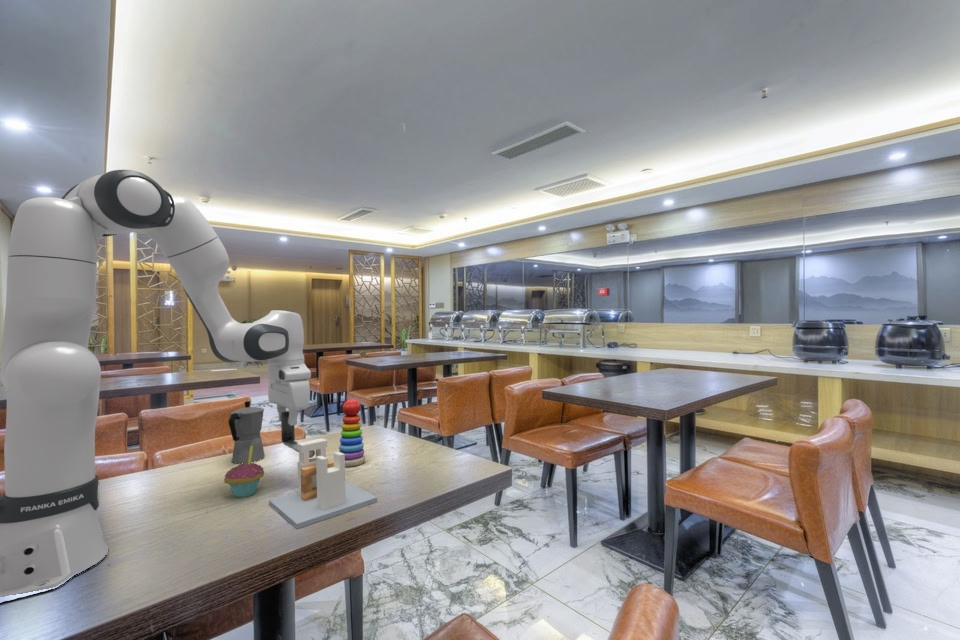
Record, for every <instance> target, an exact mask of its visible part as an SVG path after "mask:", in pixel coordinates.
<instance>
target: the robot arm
mask: <svg viewBox="0 0 960 640" xmlns="http://www.w3.org/2000/svg"><path fill="white" fill-rule="evenodd" d="M10 231H11V232H10V236H9V244H8V251H7V253H8V254H7V272H6V273H7V274H6V292H5V293H6V294H5V295H6V296H5V297H6V298H5V310H4V321H3V329H2V330H3V331H2V341H1V352H0V383H1V384H2V386H3V387H4V389H5V390H6V414H5V415H6V416H5V417H6V418H5V422H6V423H5V438H4V444H3V446H4V447H3V451H4V452H3V453H4V455H3V457H4V493H1V492H0V597H5V596H9V595H16V594H23V593H28V592H33V591H39V590H43V589H49V588H53V587H56V586H58V585H59V584H61V583H62V582H64V581H65V580H67V579H68V578H69V577H70V576H72V575H73V574H75V573H77V572H79V571H81V570H83V569H85V568H86V567H89V566H91V565H93V564H95V563H96V562H98V561H99V560H101V559H102V558H103V557H105V555H106V554H107V553H108V554H109V552H108V549H109V547H108V545H107V543H106V541H105V539H104V534H103V531H102V528H101V523H100V518H99V512H98V511H99V510H98V509H99V507H100V503H101V489H100V488H101V486H100V481H99V476H98V474H96V445H95V444H96V441H95V440H96V426H97V425H96V424H97V420H98V412H99V402H100V393H101V392H100V391H101V378H102V368H101V364H100V361H99V360H98V358H97V356H96V355H95V354H94V353H93V352H92V351H91V350H89V342H90V334H91V329H92V323H93V318H94V314H95V311H96V305H97V304H96V302H97V301H96V299H97V297H96V296H97V274H98V273H97V269H98V259H97V258H98V252H97V248H98V246H99V242H100V241H101V238H103V237H111V236H112V237H113V236H115V235H125V234H131V233H134V232H138V231H139V232H141V233H143V234H145V235H146V236H148V237H149V238H150V239H152V240H153V242H155V244H156V245H157V247H158V248H159V250H160V251H161V252H162V255H163V256H164V257H165V259H166V260H167V262H168V263H169V265H170V267H172V269H173V270H174V272H175V274H176V276H177V277H178V279H179V281H180V284H181V286H182V290H183V291H184V293H185V295H186V297H187V299H188V300H189V302H190V304H191V306H192V307H193V309H194V311H195V313H196V314H197V316H198V318H199V320H200V321H201V323H202V325H203V327H204V329H205V330H206V333H207V336H208V341H209V345H210V349H211V351H212V353H213V355H214V356H215V357H216V358H217V359H219V360H220V361H222V362H226V363H238V362H247V363H248V362H251V363H252V362H264V361H267V365H268V366H267V370H268V373H267V375H268V377H267V378H268V389H267V390H268V392H267V396H268V397H267V398H268V401H269V403H271V404H274V405H276V410H277V413H278V414H277V415H278V420H279V422H281V412H284V411H287V409H288V411H289V412H290V413H289V418H288V424H289V425H291V426H292V425H294V426H296V425H298V416H299V414H300V411H302V410H307V409H308V407H309V405H310V392H311V391H310V389H311V388H310V387H311V386H310V381H309V379H311V378H312V372H311V370H310V369H309V368H308V366H307V365H306V363H305V355H304V351H303V349H304V344H305V331H304V324H303V319H302V317H301V315H300V313H298V312H297V311H293V310H289V309H271V310H270V311H269V313H267V314H266V315H265V316H263V317H262V318H259V319H256V320H255V321H252V322H246V323H242V322H238V321H237V320H235V319H234V318H233V317H232V315H231V313H230V312H229V310H228V308H227V307H226V304H225V302H224V300H223V299H222V297H221V295H220V292H219V283H220V282H221V280H222V279H223V278H224V277H225V275H226V274H227V272H228V270H229V267H230V258H229V254H228V252H227V250H226V247H225V246H224V244H223V242H222V240H221V239H220V237H219V236H218V234H217V233H216V231H215V230H214V228H213V227H212V225H211V224H210V222H209V221H208V219H206V217H205V216H204V214H203V213H202V211H200V210H199V209H198V208H197V206H196V205H195V204H194V203H193V202H192V201H191V200H190V199H188V198H187V197H185V196H182V195H178V194H170V192H169V191H167V190H166V189H164V188H163V187H162V186H161V185H160V184H159V183H158V182H157V181H155V180H154V179H153V178H151V177H150V176H148V175H146V174H145V173H142V172H139V171H137V170H131V169H115V170H110V171H108V172H107V171H106V172H105V173H101V174H97V175H93V176H90V177H88V178H87V179H85V180H83V181H81V182H80V183H78V184H76V185H73V186H72V187H70V189H69V190H67V192H66V193H65V194H64V195H63V196H62V197H61V198H60V197H53V196H40V197H33V198H30V199H27V200H25V201H24V202H22V203H21V204H20V205H19V207H18V208H17V211H16V214H15V216H14V219H13V223H12V227H11V230H10ZM108 554H107V555H108ZM105 558H106V557H105Z"/></svg>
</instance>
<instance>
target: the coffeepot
mask: <svg viewBox="0 0 960 640" xmlns="http://www.w3.org/2000/svg"><path fill="white" fill-rule="evenodd" d="M243 403H244V407H242V408H238V409H237V410H233V411H231V412H230V413H229V414H230V417H229V419H228V425H229V430H230V433H231V437H232V440H233V441H234V445H233V450H232V458H231V463H233V462H236V463H248V459H249V451H250V446H251V445H252V443H253V445H252V446H253V451H252V458H251V462H253V463H255V462H254V461H256V462H258V461H257V460H259V461H261V460H260V459H262V460H263V459H264V458H265V449H264V445H263V441H262V437H261V432H262V425H263V419H264V418H263V417H264V411H265V409H264V408H262V407H257V406H256V407H255V406H253V407H252V406H250V405H251V401H248V400H246V401H244V402H243Z"/></svg>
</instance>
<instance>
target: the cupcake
mask: <svg viewBox="0 0 960 640" xmlns="http://www.w3.org/2000/svg"><path fill="white" fill-rule="evenodd" d="M252 445H253V443H252ZM252 445H251V446H250V451H249V459H248V463H247V464H246V463H243V464H237V466H235V467H232V468H230V470H228V471H227V472H226V473H225V475H224V479H223V483H224V484H227V485H228V486H229V487H230V489H231V492H232V493H233V496H234V497H236V498H243V497H248V496H252V495H253V494H255V493H256V491H257V488H258V487H259V486H258V485H259V482H260V480H261V479H262V478H263V477H265V476H264V475H265V472H264V467H262V465H260V464H258V463H255V462H253V463H251V458H252V451H253V446H252Z"/></svg>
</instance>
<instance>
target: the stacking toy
mask: <svg viewBox="0 0 960 640" xmlns="http://www.w3.org/2000/svg"><path fill="white" fill-rule="evenodd" d="M360 411H361V404H360V402H359V401H358V400H357V399H354V398H352V399H347V400H346V401H344V402H343V405H342V412H343V414H344V416H343V417H342V422H343V423H341V424H342V425H341V429H342V430H341V431H340V436H341V437H340V439H339V443H340V444H339V446H338V449H339V450H338V452H341V453H343V454H345V468H346V467H347V468H348V467H355V466H360V465H362V464H363V463H365V460H366V456H365V455H364V454H365V450H364V447H365V446H364V445H365V444H364V441H363V439H364V438H363V437H364V436H362V434H363V430H362V429H361V427H362V425H361V422H360V421H361V416H360V415H358V414H359V413H360Z"/></svg>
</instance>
